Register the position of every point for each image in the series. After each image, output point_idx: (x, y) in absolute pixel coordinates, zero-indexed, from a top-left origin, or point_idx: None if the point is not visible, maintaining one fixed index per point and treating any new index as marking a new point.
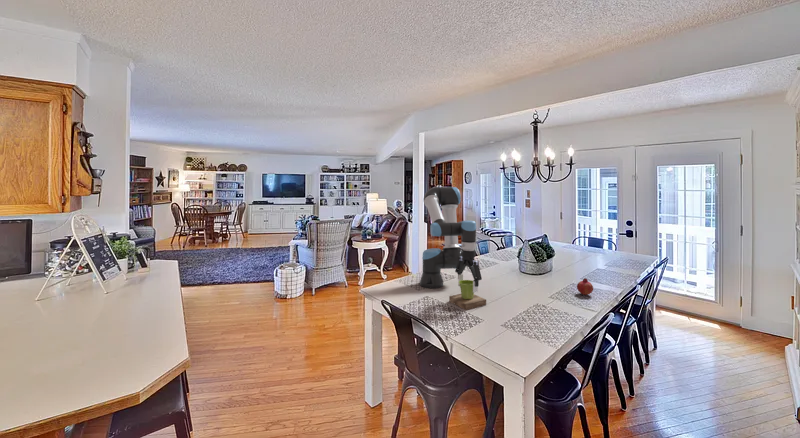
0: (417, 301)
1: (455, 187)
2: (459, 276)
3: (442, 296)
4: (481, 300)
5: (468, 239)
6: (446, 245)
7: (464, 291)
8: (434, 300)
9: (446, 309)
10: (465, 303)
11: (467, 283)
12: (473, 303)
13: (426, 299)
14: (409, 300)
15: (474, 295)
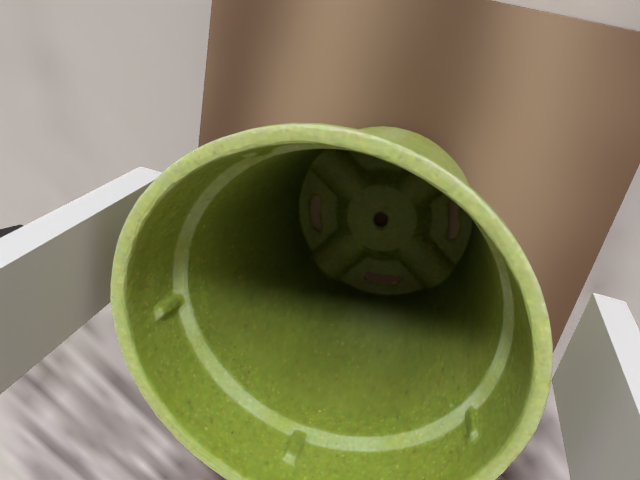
0: (52, 457)
1: None
2: (18, 374)
3: (55, 209)
4: (633, 152)
5: None
6: None
7: (376, 376)
8: (107, 355)
9: None
10: None
11: (231, 173)
12: (566, 310)
13: (49, 379)
14: (5, 473)
15: (399, 26)
